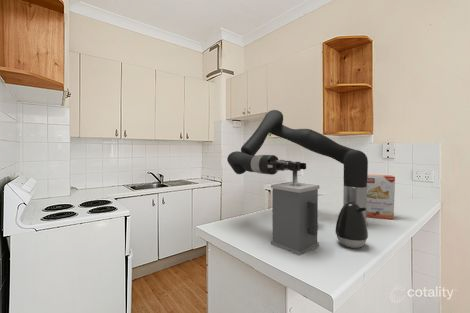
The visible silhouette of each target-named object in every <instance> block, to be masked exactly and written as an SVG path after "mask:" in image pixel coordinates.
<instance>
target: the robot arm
mask: <svg viewBox="0 0 470 313" xmlns="http://www.w3.org/2000/svg"><path fill="white" fill-rule="evenodd" d="M283 123H284V114H283V112H281V111H280V110H277V109H272V110H268V112H266V114H265V116H264V117H263V119H262V121H261V122H260V124H259V125H258V127H257V128H256V129H255V131H254V132H253V134H251V136H250V137H249V138H248V139H247V140H246V142H245V143H243V145H242V146H241V148H240V151H238V150H237V151H232V152H230V153H229V154H228V156H227V157H226V158H227V163H228V165H229V166H230V167H231V169H232V170H233V172H234V173H235V174H237V175H242V174H244V173H246V172H249V173H255V174H256V173H257V174H264V175H271V176H273V175H275V174H277V173H278V172H281V171H282V172H283V171H284V172H285V171H290V170H299V164H297V163H290V162H293V161H292V160H285V159H279V158H278V157H277V155H274V154H270V155H269V154H257V153H258V152H259V150H260V149H261V148H262V146H263V145H264V142H265V141H266V140H267V137H268V135H269V134H270V135H273V136H276V137H279V138H282V139H284V140H287V141H290V142H292V143H294V144H296V145H298V146H300V147H302V148H304V149H306V150H309V151H311V152H313V153H315V154H319V155H322V156H325V157H328V158H330V159H331V158H332V159H333V160H335V161H337V162H338V163H339V164H342V165H343V196H342V197H343V205H342V207H343V206H344V204H346V203H348V202H354V203H356V204H358V205H359V207H360V208H364V207H365V208H366V210H365V211H362V212H363V215H364V217H365V221H366V222H367V217H366V214H367V178H368V175H369V174H368V172H369V169H368V168H369V160H368V159H369V158H368V156H367V154H366V153H364V151H361V150H359V149H354V148H351V147H347V146H345V145H342V144H340V143H337V142H336V141H335V140H332V139H331V138H330V137H327V136H326V135H324V134H322V133H320V132H318V131H315V130H313V129H311V128H290V127H289V126H286V125H285V124H283ZM256 154H257V155H256ZM300 170H307V162H306V163H305V162H300Z"/></svg>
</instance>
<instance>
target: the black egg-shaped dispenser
mask: <svg viewBox="0 0 470 313" xmlns="http://www.w3.org/2000/svg"><path fill="white" fill-rule="evenodd" d="M365 210H366V208H365V207H364V208H360V207H359V205H358V204H356V203H354V202H348V203H346V204H344V206H343V205H342V206H341V209H340V211H339V213H338V217H337V220H336V222H335V223H336V224H335V235H336V238H337V240H338V242H339V243H340V244H341V245H343V246H345V247H347V248H352V249H358V248H361V247H363V246H364V245H365V244H366V243H367V239H368V238H369V232H368V224H367V220H366V221H365V217H364V215H363V212H362V211H365Z"/></svg>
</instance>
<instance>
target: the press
mask: <svg viewBox="0 0 470 313" xmlns="http://www.w3.org/2000/svg"><path fill="white" fill-rule="evenodd" d="M270 189H272V217H271V218H272V221H271V222H272V227H271V228H272V229H271V230H272V239H271V241H270V245H273V246H275V247H277V248H279V249H282V250H285V251H287V252H289V253H292V254H294V255H296V256H301V255H303V254H305V253H308V252H309V251H312V250H313V249H315V248H317V247H319V246H320V242H318V216H319V215H318V213H319V212H318V211H319V210H318V203H319V202H318V201H319V200H318V199H319V198H318V197H319V191H318V190H319V189H320V185H319V184H313V183H306V182H299V181H297V186H293V181H288V182H287V181H285V182H281V183H275V184H270Z"/></svg>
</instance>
